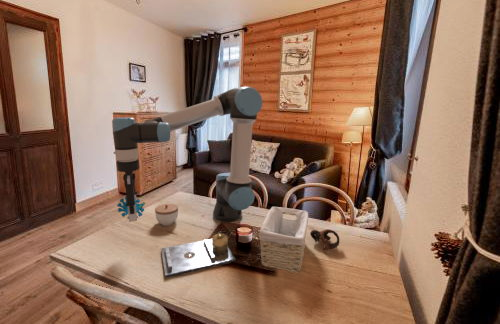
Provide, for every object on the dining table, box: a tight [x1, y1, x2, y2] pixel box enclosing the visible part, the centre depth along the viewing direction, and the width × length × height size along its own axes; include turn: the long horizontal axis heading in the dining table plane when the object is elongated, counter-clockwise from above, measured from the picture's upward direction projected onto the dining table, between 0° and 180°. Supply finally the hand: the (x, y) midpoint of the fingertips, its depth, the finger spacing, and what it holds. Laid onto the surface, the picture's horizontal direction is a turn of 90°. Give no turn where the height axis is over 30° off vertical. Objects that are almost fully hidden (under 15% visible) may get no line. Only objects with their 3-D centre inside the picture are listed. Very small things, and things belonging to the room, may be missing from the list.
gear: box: [116, 196, 146, 220], centre depth 98 cm, size 11×6×10 cm
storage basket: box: [258, 206, 309, 273], centre depth 97 cm, size 24×16×15 cm
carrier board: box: [160, 232, 236, 279], centre depth 95 cm, size 25×17×7 cm
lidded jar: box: [154, 203, 179, 226], centre depth 121 cm, size 11×11×9 cm
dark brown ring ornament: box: [310, 228, 340, 252], centre depth 105 cm, size 12×10×8 cm
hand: (133, 215), depth 97 cm, fingers closed on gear, 9 cm apart
